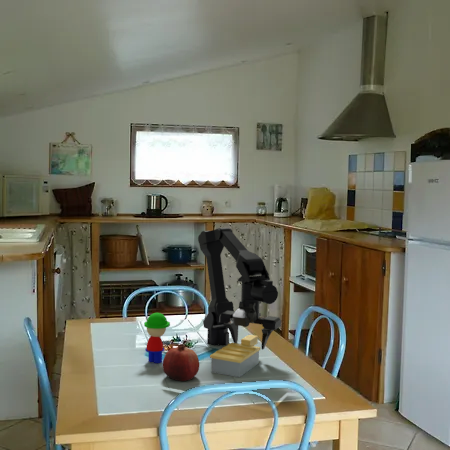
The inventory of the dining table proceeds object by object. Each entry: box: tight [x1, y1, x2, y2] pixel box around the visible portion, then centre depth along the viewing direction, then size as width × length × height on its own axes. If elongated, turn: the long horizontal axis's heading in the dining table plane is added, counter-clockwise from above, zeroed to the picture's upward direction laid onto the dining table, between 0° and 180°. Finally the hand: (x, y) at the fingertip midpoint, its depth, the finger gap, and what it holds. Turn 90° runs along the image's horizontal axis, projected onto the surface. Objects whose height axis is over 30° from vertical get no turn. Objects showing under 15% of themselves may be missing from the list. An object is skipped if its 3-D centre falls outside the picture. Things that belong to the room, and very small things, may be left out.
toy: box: [143, 312, 171, 364], centre depth 177 cm, size 8×8×15 cm
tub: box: [210, 350, 260, 378], centre depth 171 cm, size 14×9×5 cm, turn 154°
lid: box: [209, 334, 261, 363], centre depth 173 cm, size 20×10×2 cm, turn 154°
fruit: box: [162, 343, 200, 382], centre depth 161 cm, size 11×10×10 cm
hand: (249, 347), depth 179 cm, fingers open, 9 cm apart
